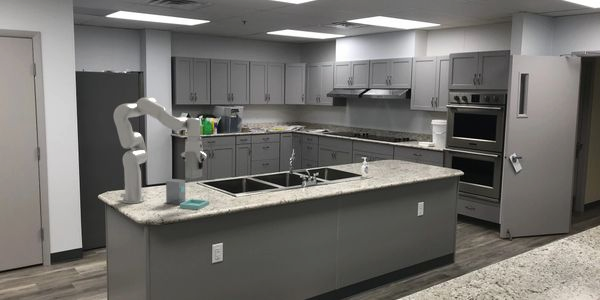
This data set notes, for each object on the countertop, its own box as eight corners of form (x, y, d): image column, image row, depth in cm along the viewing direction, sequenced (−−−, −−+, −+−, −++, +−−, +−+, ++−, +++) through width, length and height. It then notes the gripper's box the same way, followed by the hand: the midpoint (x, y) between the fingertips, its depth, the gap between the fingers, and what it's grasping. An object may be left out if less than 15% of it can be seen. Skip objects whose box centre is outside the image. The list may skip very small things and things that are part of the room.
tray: (179, 207, 286) (179, 203, 286) (191, 202, 299) (191, 198, 299) (198, 209, 283) (198, 205, 282) (209, 204, 295) (209, 200, 295)
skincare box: (195, 175, 294) (195, 149, 291) (203, 177, 289) (203, 150, 287) (184, 177, 287) (184, 151, 285) (192, 179, 283) (191, 152, 280)
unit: (164, 203, 294) (163, 181, 292) (172, 200, 302) (171, 178, 301) (180, 205, 291) (179, 182, 289) (187, 202, 299) (187, 179, 297)
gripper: (210, 139, 286) (210, 168, 288) (183, 137, 291) (184, 166, 293) (203, 140, 279) (204, 170, 281) (177, 138, 284) (177, 168, 286)
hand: (193, 168), depth 287 cm, fingers closed on skincare box, 8 cm apart
